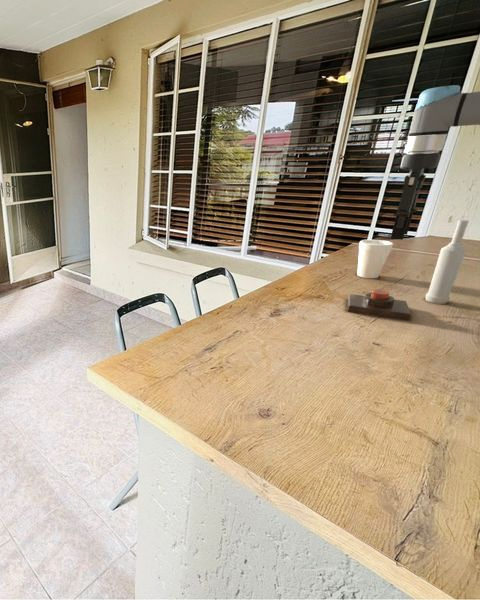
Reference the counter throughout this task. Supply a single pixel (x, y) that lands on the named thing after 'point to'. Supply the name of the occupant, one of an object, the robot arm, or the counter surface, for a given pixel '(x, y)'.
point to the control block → (378, 306)
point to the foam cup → (372, 257)
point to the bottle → (447, 267)
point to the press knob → (380, 294)
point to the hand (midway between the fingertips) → (398, 236)
